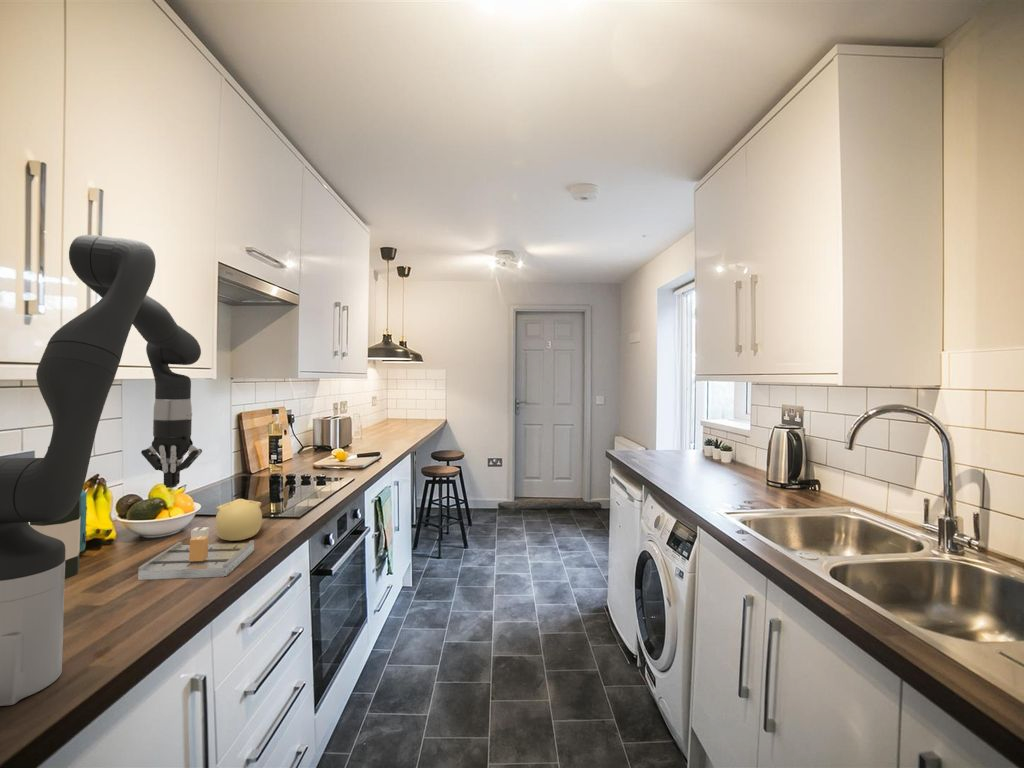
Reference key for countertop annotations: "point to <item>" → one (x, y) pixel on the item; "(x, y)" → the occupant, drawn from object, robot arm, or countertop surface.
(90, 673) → the countertop surface
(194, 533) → the fader
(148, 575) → the grey slider board
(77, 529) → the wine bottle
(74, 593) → the countertop surface
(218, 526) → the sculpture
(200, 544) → the block
